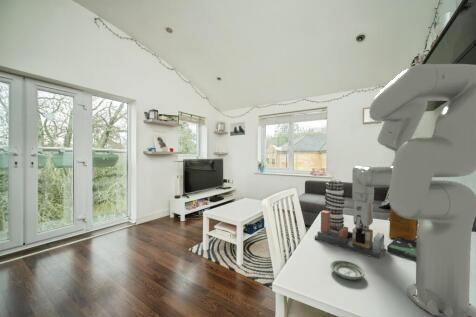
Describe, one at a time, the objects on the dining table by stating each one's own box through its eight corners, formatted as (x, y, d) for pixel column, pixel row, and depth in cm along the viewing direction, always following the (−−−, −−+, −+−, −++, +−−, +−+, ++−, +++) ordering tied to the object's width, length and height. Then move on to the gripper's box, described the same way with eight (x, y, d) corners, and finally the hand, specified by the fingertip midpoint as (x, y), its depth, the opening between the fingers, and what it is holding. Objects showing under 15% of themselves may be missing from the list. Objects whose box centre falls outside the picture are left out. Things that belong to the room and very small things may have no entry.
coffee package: (421, 238, 91) (422, 190, 90) (413, 245, 84) (414, 193, 83) (395, 231, 99) (395, 187, 98) (385, 237, 92) (385, 189, 91)
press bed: (378, 258, 73) (378, 241, 73) (314, 238, 90) (314, 224, 90) (384, 248, 81) (384, 232, 81) (324, 232, 98) (324, 219, 98)
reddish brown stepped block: (342, 241, 84) (342, 217, 84) (318, 234, 91) (319, 212, 91) (348, 236, 89) (348, 213, 89) (325, 230, 96) (325, 209, 96)
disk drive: (397, 242, 88) (386, 252, 79) (397, 236, 88) (386, 245, 78) (429, 251, 80) (422, 264, 71) (429, 244, 80) (422, 256, 70)
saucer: (334, 263, 71) (334, 256, 71) (366, 273, 65) (366, 266, 65) (326, 276, 63) (326, 268, 63) (362, 289, 57) (362, 281, 57)
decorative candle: (348, 233, 96) (349, 181, 96) (329, 233, 96) (329, 182, 96) (339, 226, 105) (339, 179, 105) (321, 226, 105) (321, 179, 105)
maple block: (369, 248, 78) (369, 231, 78) (352, 243, 82) (352, 227, 82) (372, 244, 81) (372, 228, 81) (356, 239, 86) (356, 224, 86)
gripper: (368, 201, 73) (367, 250, 73) (378, 194, 85) (377, 237, 85) (345, 198, 78) (345, 244, 79) (358, 192, 90) (358, 232, 91)
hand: (362, 240), depth 82 cm, fingers closed on maple block, 4 cm apart
